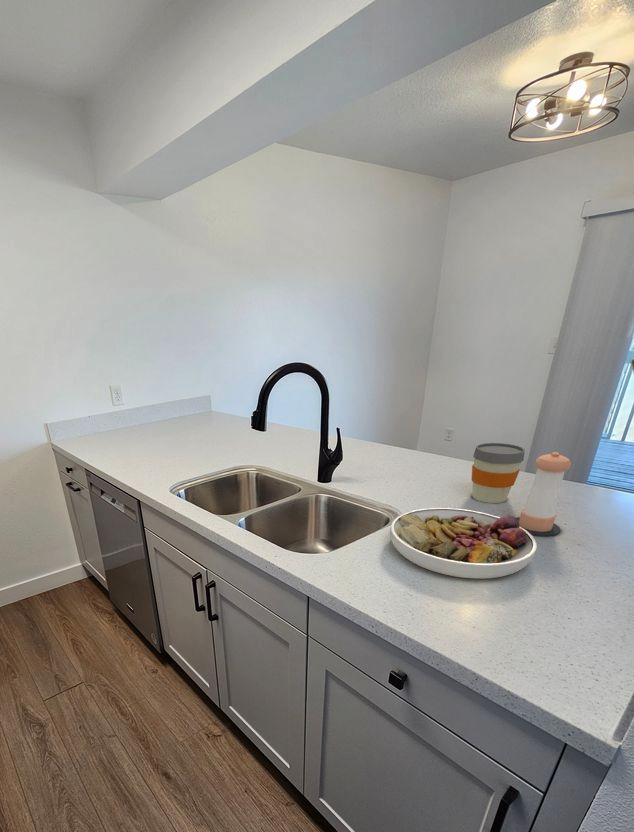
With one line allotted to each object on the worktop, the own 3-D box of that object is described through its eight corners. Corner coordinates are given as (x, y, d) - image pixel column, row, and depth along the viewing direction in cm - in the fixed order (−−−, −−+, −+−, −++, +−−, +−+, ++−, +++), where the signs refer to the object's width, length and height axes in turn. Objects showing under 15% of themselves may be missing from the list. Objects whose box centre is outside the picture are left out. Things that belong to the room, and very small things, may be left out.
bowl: (433, 594, 87) (439, 560, 84) (367, 532, 114) (370, 504, 111) (566, 575, 91) (577, 542, 87) (472, 519, 118) (478, 492, 114)
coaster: (558, 522, 113) (558, 520, 113) (561, 539, 105) (562, 538, 105) (509, 515, 118) (509, 514, 118) (508, 531, 110) (508, 530, 110)
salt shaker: (554, 524, 111) (577, 451, 103) (548, 534, 107) (571, 458, 98) (522, 517, 116) (541, 447, 107) (514, 526, 111) (534, 453, 103)
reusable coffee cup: (512, 508, 123) (525, 456, 116) (463, 501, 129) (472, 451, 122) (513, 493, 132) (526, 444, 125) (467, 488, 138) (477, 441, 131)
